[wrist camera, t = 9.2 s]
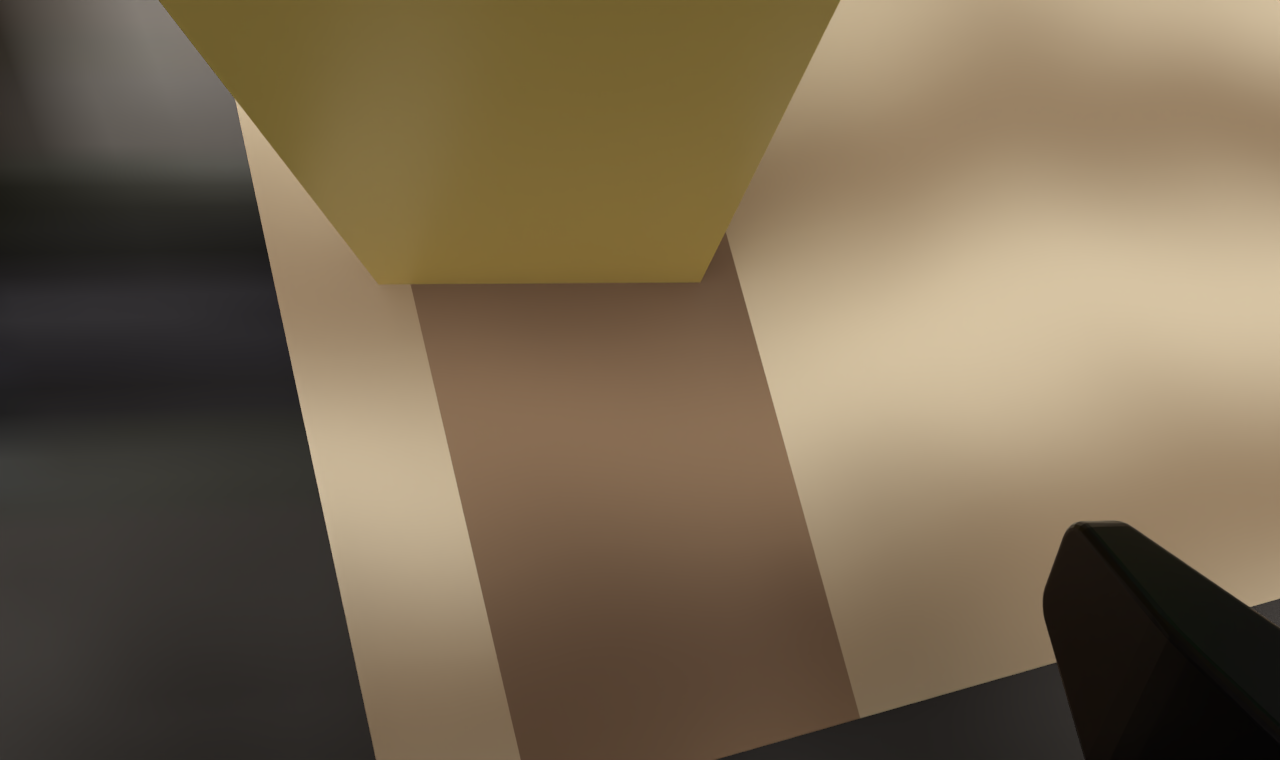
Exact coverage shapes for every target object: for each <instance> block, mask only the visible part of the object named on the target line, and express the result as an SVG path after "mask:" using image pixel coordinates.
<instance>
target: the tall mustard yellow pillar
mask: <svg viewBox="0 0 1280 760" xmlns="http://www.w3.org/2000/svg"><path fill="white" fill-rule="evenodd" d="M159 1H160V3H161V4H162V5H163V6H164V8H165V9H166V10H167V12H168V13H169V14H170V15H171V17H172V18H173V19H174V21H175V22H176V23H177V25H178V26H179V27H180V28H181V30H182V31H183V32H184V34H185V35H186V36H187V37H188V39H189V40H190V41H191V43H192V44H193V45H194V47H195V48H196V49H197V50H198V52H199V53H200V54H201V56H202V57H203V58H204V59H205V61H206V62H207V63H208V65H209V66H210V67H211V69H212V70H213V71H214V72H215V74H216V75H217V76H218V78H219V79H220V80H221V81H222V83H223V84H224V85H225V87H226V88H227V89H228V91H229V92H230V93H231V94H232V96H233V97H234V98H235V100H236V101H237V102H238V103H239V105H240V106H241V107H242V109H243V110H244V111H245V113H246V114H247V115H248V116H249V118H250V119H251V120H252V122H253V123H254V124H255V125H256V127H257V128H258V129H259V131H260V132H261V133H262V135H263V136H264V137H265V138H266V140H267V141H268V142H269V144H270V145H271V146H272V147H273V149H274V150H275V151H276V153H277V154H278V155H279V157H280V158H281V159H282V160H283V162H284V163H285V164H286V166H287V167H288V168H289V169H290V171H291V172H292V173H293V175H294V176H295V177H296V179H297V180H298V181H299V182H300V184H301V185H302V186H303V188H304V189H305V190H306V192H307V193H308V194H309V195H310V197H311V198H312V199H313V201H314V202H315V203H316V204H317V206H318V207H319V208H320V210H321V211H322V212H323V214H324V215H325V216H326V217H327V219H328V220H329V221H330V223H331V224H332V225H333V226H334V228H335V229H336V230H337V232H338V233H339V234H340V236H341V237H342V238H343V239H344V241H345V242H346V243H347V245H348V246H349V247H350V248H351V250H352V251H353V252H354V254H355V255H356V256H357V258H358V259H359V260H360V261H361V263H362V264H363V265H364V267H365V268H366V269H367V270H368V272H369V273H370V274H371V276H372V277H373V278H374V280H375V281H376V282H377V283H378V285H380V284H534V283H688V282H701V280H702V278H703V276H704V274H705V272H706V270H707V268H708V266H709V264H710V262H711V260H712V258H713V256H714V254H715V252H716V250H717V248H718V246H719V244H720V242H721V240H722V238H723V236H724V234H725V232H726V230H727V228H728V226H729V224H730V222H731V220H732V218H733V216H734V214H735V212H736V210H737V208H738V206H739V204H740V202H741V200H742V198H743V196H744V194H745V192H746V190H747V188H748V186H749V184H750V181H751V179H752V177H753V175H754V173H755V171H756V169H757V167H758V165H759V163H760V161H761V159H762V157H763V155H764V153H765V151H766V149H767V147H768V145H769V143H770V141H771V139H772V137H773V135H774V133H775V131H776V129H777V127H778V125H779V123H780V121H781V119H782V117H783V115H784V113H785V111H786V109H787V107H788V105H789V103H790V101H791V99H792V97H793V95H794V93H795V91H796V89H797V87H798V85H799V83H800V81H801V79H802V77H803V75H804V73H805V71H806V69H807V67H808V65H809V63H810V61H811V59H812V57H813V55H814V53H815V51H816V49H817V46H818V44H819V42H820V40H821V38H822V36H823V34H824V32H825V30H826V28H827V26H828V24H829V22H830V20H831V18H832V16H833V14H834V12H835V10H836V8H837V6H838V4H839V2H840V0H159Z"/></svg>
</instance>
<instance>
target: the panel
mask: <svg viewBox="0 0 1280 760" xmlns="http://www.w3.org/2000/svg"><path fill="white" fill-rule="evenodd" d="M235 101H236V100H235ZM236 105H237V110H238V115H239V119H240V124H241V129H242V133H243V138H244V143H245V147H246V152H247V157H248V162H249V166H250V171H251V176H252V180H253V185H254V190H255V194H256V199H257V204H258V208H259V213H260V218H261V223H262V227H263V232H264V237H265V241H266V246H267V251H268V255H269V260H270V265H271V269H272V274H273V279H274V284H275V288H276V293H277V298H278V302H279V307H280V312H281V316H282V321H283V326H284V330H285V335H286V340H287V345H288V349H289V354H290V359H291V363H292V368H293V373H294V377H295V382H296V387H297V391H298V396H299V401H300V406H301V410H302V415H303V420H304V424H305V429H306V434H307V438H308V443H309V448H310V452H311V457H312V462H313V467H314V471H315V476H316V481H317V485H318V490H319V495H320V499H321V504H322V509H323V513H324V518H325V523H326V527H327V532H328V537H329V542H330V546H331V551H332V556H333V560H334V565H335V570H336V574H337V579H338V584H339V588H340V593H341V598H342V603H343V607H344V612H345V617H346V621H347V626H348V631H349V635H350V640H351V645H352V649H353V654H354V659H355V664H356V668H357V673H358V678H359V682H360V687H361V692H362V696H363V701H364V706H365V710H366V715H367V720H368V725H369V729H370V734H371V739H372V743H373V748H374V753H375V757H376V760H716V759H719V758H723V757H726V756H730V755H733V754H737V753H740V752H744V751H747V750H751V749H754V748H758V747H761V746H765V745H768V744H772V743H775V742H779V741H782V740H786V739H789V738H793V737H796V736H800V735H803V734H807V733H810V732H814V731H817V730H821V729H824V728H828V727H831V726H835V725H838V724H842V723H845V722H849V721H852V720H856V719H859V718H863V717H866V716H870V715H873V714H877V713H880V712H884V711H887V710H891V709H894V708H898V707H901V706H905V705H908V704H912V703H915V702H919V701H922V700H926V699H929V698H933V697H936V696H940V695H943V694H947V693H950V692H954V691H957V690H961V689H964V688H968V687H971V686H975V685H978V684H982V683H985V682H989V681H992V680H996V679H999V678H1003V677H1006V676H1010V675H1013V674H1017V673H1020V672H1024V671H1027V670H1031V669H1034V668H1038V667H1041V666H1045V665H1048V664H1052V663H1055V662H1056V658H1055V655H1054V651H1053V648H1052V644H1051V641H1050V637H1049V634H1048V631H1047V627H1046V624H1045V620H1044V615H1043V602H1042V600H1043V592H1044V588H1045V585H1046V582H1047V580H1048V577H1049V574H1050V571H1051V568H1052V566H1053V563H1054V560H1055V557H1056V555H1057V552H1058V549H1059V546H1060V544H1061V541H1062V538H1063V536H1064V533H1065V531H1066V529H1067V528H1068V527H1069V526H1070V525H1072V524H1073V523H1075V522H1078V521H1103V520H1116V521H1122V522H1125V523H1127V524H1129V525H1131V526H1132V527H1134V528H1135V529H1137V530H1138V531H1140V532H1141V533H1143V534H1144V535H1146V536H1147V537H1148V538H1150V539H1151V540H1153V541H1154V542H1156V543H1157V544H1159V545H1160V546H1162V547H1163V548H1165V549H1166V550H1167V551H1169V552H1170V553H1172V554H1173V555H1175V556H1176V557H1178V558H1179V559H1181V560H1182V561H1183V562H1185V563H1186V564H1188V565H1189V566H1191V567H1192V568H1194V569H1195V570H1197V571H1198V572H1200V573H1201V574H1202V575H1204V576H1205V577H1207V578H1208V579H1210V580H1211V581H1213V582H1214V583H1216V584H1217V585H1218V586H1220V587H1221V588H1223V589H1224V590H1226V591H1227V592H1229V593H1230V594H1232V595H1233V596H1234V597H1236V598H1237V599H1239V600H1240V601H1242V602H1243V603H1245V604H1246V605H1248V606H1249V607H1252V606H1255V605H1259V604H1262V603H1266V602H1269V601H1273V600H1276V599H1280V0H840V2H839V4H838V6H837V8H836V10H835V12H834V14H833V16H832V18H831V20H830V22H829V24H828V26H827V28H826V30H825V32H824V34H823V36H822V38H821V40H820V42H819V44H818V46H817V49H816V51H815V53H814V55H813V57H812V59H811V61H810V63H809V65H808V67H807V69H806V71H805V73H804V75H803V77H802V79H801V81H800V83H799V85H798V87H797V89H796V91H795V93H794V95H793V97H792V99H791V101H790V103H789V105H788V107H787V109H786V111H785V113H784V115H783V117H782V119H781V121H780V123H779V125H778V127H777V129H776V131H775V133H774V135H773V137H772V139H771V141H770V143H769V145H768V147H767V149H766V151H765V153H764V155H763V157H762V159H761V161H760V163H759V165H758V167H757V169H756V171H755V173H754V175H753V177H752V179H751V181H750V184H749V186H748V188H747V190H746V192H745V194H744V196H743V198H742V200H741V202H740V204H739V206H738V208H737V210H736V212H735V214H734V216H733V218H732V220H731V222H730V224H729V226H728V228H727V230H726V232H725V234H724V236H723V238H722V240H721V242H720V244H719V246H718V248H717V250H716V252H715V254H714V256H713V258H712V260H711V262H710V264H709V266H708V268H707V270H706V272H705V274H704V276H703V278H702V280H701V282H688V283H534V284H380V285H378V283H377V282H376V281H375V280H374V278H373V277H372V276H371V274H370V273H369V272H368V270H367V269H366V268H365V267H364V265H363V264H362V263H361V261H360V260H359V259H358V258H357V256H356V255H355V254H354V252H353V251H352V250H351V248H350V247H349V246H348V245H347V243H346V242H345V241H344V239H343V238H342V237H341V236H340V234H339V233H338V232H337V230H336V229H335V228H334V226H333V225H332V224H331V223H330V221H329V220H328V219H327V217H326V216H325V215H324V214H323V212H322V211H321V210H320V208H319V207H318V206H317V204H316V203H315V202H314V201H313V199H312V198H311V197H310V195H309V194H308V193H307V192H306V190H305V189H304V188H303V186H302V185H301V184H300V182H299V181H298V180H297V179H296V177H295V176H294V175H293V173H292V172H291V171H290V169H289V168H288V167H287V166H286V164H285V163H284V162H283V160H282V159H281V158H280V157H279V155H278V154H277V153H276V151H275V150H274V149H273V147H272V146H271V145H270V144H269V142H268V141H267V140H266V138H265V137H264V136H263V135H262V133H261V132H260V131H259V129H258V128H257V127H256V125H255V124H254V123H253V122H252V120H251V119H250V118H249V116H248V115H247V114H246V113H245V111H244V110H243V109H242V107H241V106H240V105H239V103H238V102H237V101H236Z"/></svg>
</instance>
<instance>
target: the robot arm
mask: <svg viewBox="0 0 1280 760" xmlns="http://www.w3.org/2000/svg"><path fill="white" fill-rule="evenodd" d="M1042 602H1043V615H1044V620H1045V624H1046V627H1047V631H1048V634H1049V637H1050V641H1051V644H1052V648H1053V651H1054V655H1055V658H1056V662H1057V665H1058V669H1059V672H1060V675H1061V679H1062V682H1063V686H1064V689H1065V693H1066V696H1067V700H1068V703H1069V706H1070V710H1071V713H1072V717H1073V720H1074V724H1075V727H1076V731H1077V734H1078V738H1079V741H1080V744H1081V748H1082V751H1083V755H1084V758H1085V760H1280V627H1278V626H1277V625H1275V624H1274V623H1272V622H1271V621H1269V620H1268V619H1267V618H1265V617H1264V616H1262V615H1261V614H1259V613H1258V612H1256V611H1255V610H1253V609H1252V608H1251V607H1249V606H1248V605H1246V604H1245V603H1243V602H1242V601H1240V600H1239V599H1237V598H1236V597H1234V596H1233V595H1232V594H1230V593H1229V592H1227V591H1226V590H1224V589H1223V588H1221V587H1220V586H1218V585H1217V584H1216V583H1214V582H1213V581H1211V580H1210V579H1208V578H1207V577H1205V576H1204V575H1202V574H1201V573H1200V572H1198V571H1197V570H1195V569H1194V568H1192V567H1191V566H1189V565H1188V564H1186V563H1185V562H1183V561H1182V560H1181V559H1179V558H1178V557H1176V556H1175V555H1173V554H1172V553H1170V552H1169V551H1167V550H1166V549H1165V548H1163V547H1162V546H1160V545H1159V544H1157V543H1156V542H1154V541H1153V540H1151V539H1150V538H1148V537H1147V536H1146V535H1144V534H1143V533H1141V532H1140V531H1138V530H1137V529H1135V528H1134V527H1132V526H1131V525H1129V524H1127V523H1125V522H1122V521H1116V520H1103V521H1078V522H1075V523H1073V524H1072V525H1070V526H1069V527H1068V528H1067V529H1066V531H1065V533H1064V536H1063V538H1062V541H1061V544H1060V546H1059V549H1058V552H1057V555H1056V557H1055V560H1054V563H1053V566H1052V568H1051V571H1050V574H1049V577H1048V580H1047V582H1046V585H1045V588H1044V592H1043V600H1042Z"/></svg>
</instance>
